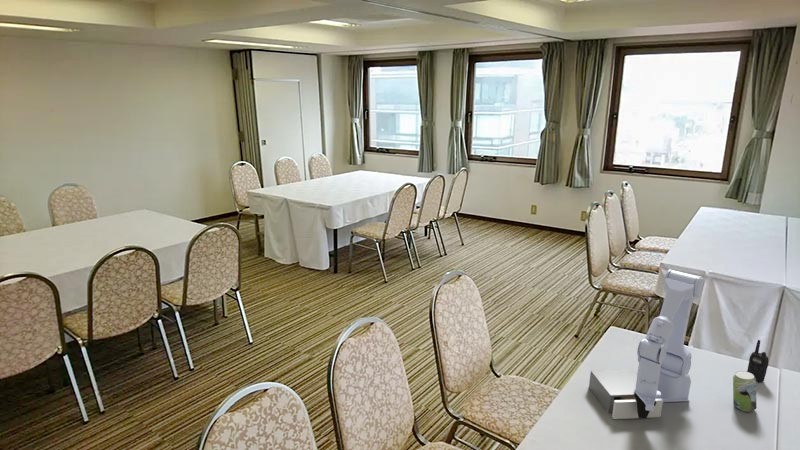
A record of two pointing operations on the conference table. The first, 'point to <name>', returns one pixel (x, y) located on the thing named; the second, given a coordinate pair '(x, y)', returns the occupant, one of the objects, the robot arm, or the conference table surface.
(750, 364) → the two-way radio
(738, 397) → the beverage can
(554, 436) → the conference table surface
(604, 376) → the housing
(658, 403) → the tray
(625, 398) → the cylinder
